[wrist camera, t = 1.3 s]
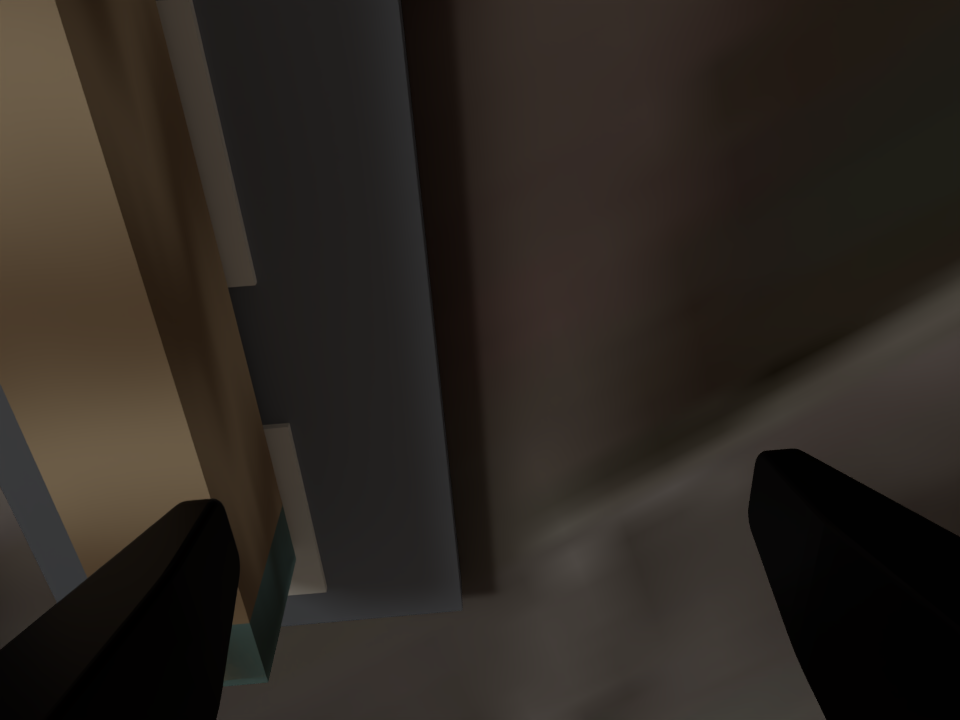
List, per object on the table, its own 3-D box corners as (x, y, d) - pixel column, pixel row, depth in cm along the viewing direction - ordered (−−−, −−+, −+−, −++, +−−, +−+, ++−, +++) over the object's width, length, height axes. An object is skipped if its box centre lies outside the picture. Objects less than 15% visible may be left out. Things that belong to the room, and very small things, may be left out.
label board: (461, 581, 24) (462, 616, 22) (93, 614, 24) (74, 651, 22) (390, -103, 15) (386, -109, 13) (-217, -61, 14) (-279, -62, 13)
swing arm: (-187, -497, 11) (-576, -785, 7) (58, -513, 11) (-173, -804, 7) (184, 556, 21) (123, 702, 17) (309, 545, 21) (279, 688, 17)
